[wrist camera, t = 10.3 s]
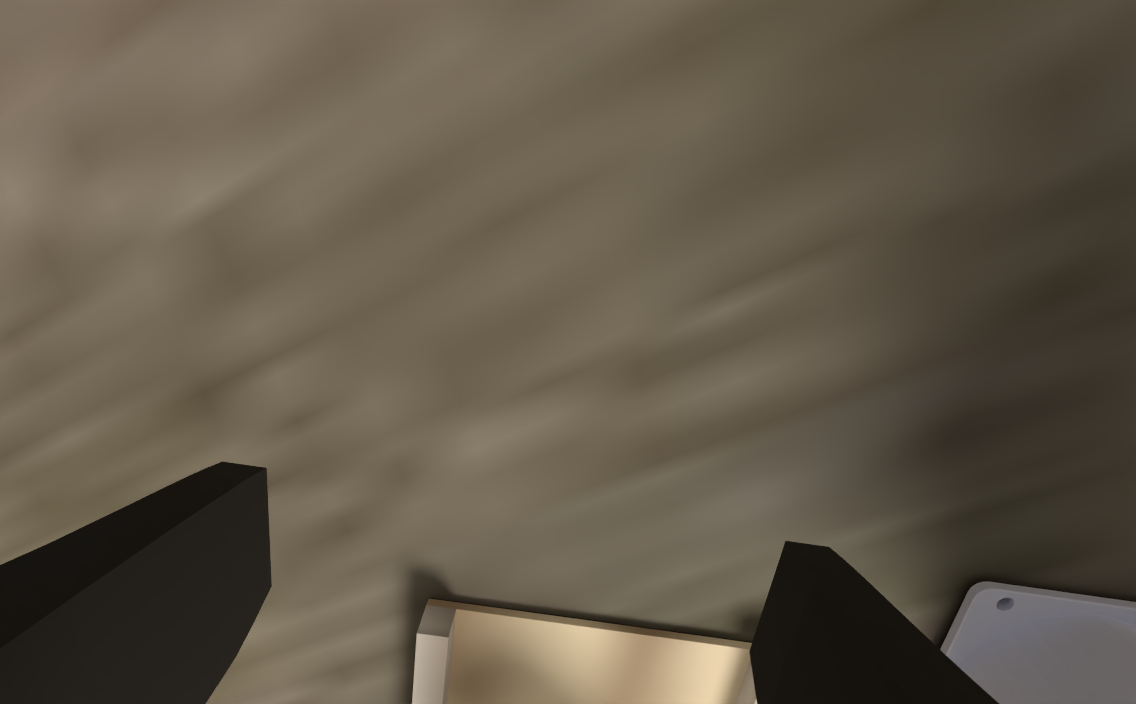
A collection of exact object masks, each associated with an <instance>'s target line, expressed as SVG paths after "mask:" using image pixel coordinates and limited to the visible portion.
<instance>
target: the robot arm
mask: <svg viewBox="0 0 1136 704" xmlns="http://www.w3.org/2000/svg"><path fill="white" fill-rule="evenodd" d="M271 586H272V585H271V561H270V538H269V515H268V492H267V468H263V467H256V466H249V465H242V464H235V463H228V462H220V463H218V464H215V465H213V466H211V467H208V468H206V469H203V470H201V471H199V472H197V473H194V474H192V475H190V476H188V477H186V478H184V479H182V480H179V481H177V482H175V483H173V484H171V485H169V486H167V487H165V488H163V489H161V490H159V491H157V492H155V493H152V494H150V495H148V496H146V497H144V498H142V499H140V500H138V501H136V502H134V503H132V504H130V505H128V506H126V507H124V508H122V509H120V510H118V511H115V512H113V513H111V514H109V515H107V516H105V517H103V518H101V519H99V520H97V521H95V522H93V523H90V524H88V525H86V526H84V527H82V528H80V529H78V530H76V531H74V532H72V533H70V534H68V535H65V536H63V537H61V538H59V539H57V540H55V541H53V542H51V543H49V544H47V545H44V546H42V547H40V548H38V549H35V550H33V551H31V552H29V553H26V554H24V555H22V556H20V557H17V558H15V559H13V560H11V561H8V562H6V563H4V564H2V565H0V704H206V702H207V700H208V699H209V697H210V696H211V694H212V693H213V691H214V690H215V688H216V687H217V685H218V684H219V682H220V681H221V679H222V678H223V676H224V675H225V673H226V671H227V670H228V668H229V667H230V665H231V664H232V662H233V660H234V659H235V657H236V656H237V654H238V652H239V650H240V648H241V646H242V644H243V642H244V640H245V638H246V637H247V635H248V633H249V631H250V629H251V627H252V625H253V623H254V621H255V619H256V617H257V615H258V613H259V611H260V609H261V607H262V605H263V603H264V600H265V598H266V596H267V594H268V592H269V590H270V588H271ZM1003 598H1004V599H1003ZM1001 599H1003V600H1001ZM999 600H1001V601H999ZM749 653H750V660H751V667H752V674H753V680H754V687H755V694H756V699H757V704H1136V602H1131V601H1124V600H1117V599H1110V598H1103V597H1096V596H1088V595H1081V594H1074V593H1067V592H1060V591H1053V590H1046V589H1039V588H1031V587H1024V586H1017V585H1010V584H1003V583H996V582H980V583H977V584H975V585H973V586H972V587H971V588H970V589H969V591H968V592H967V594H966V596H965V599H964V601H963V603H962V605H961V607H960V609H959V611H958V613H957V615H956V617H955V620H954V622H953V624H952V626H951V628H950V630H949V632H948V634H947V636H946V638H945V640H944V643H943V645H942V647H941V649H939V648H938V647H937V646H936V645H934V644H933V643H932V642H931V641H930V640H929V639H928V638H927V637H926V636H925V635H924V634H923V633H922V632H921V631H920V630H918V629H917V628H916V627H915V626H914V625H913V624H912V623H911V622H910V621H909V620H908V619H907V618H906V617H905V616H904V615H903V614H902V613H901V612H899V611H898V610H897V609H896V608H895V607H894V606H893V605H892V604H891V603H890V602H889V601H888V600H887V599H886V598H885V597H884V596H883V595H882V594H881V593H879V592H878V591H877V590H876V589H875V588H874V587H873V586H872V585H871V584H870V583H869V582H868V581H867V580H866V579H865V578H864V577H862V576H861V575H860V574H859V573H858V572H857V571H856V570H855V569H854V568H853V567H852V566H851V565H849V564H848V563H847V562H846V561H845V560H844V559H843V558H842V557H840V556H839V555H838V554H837V553H836V552H834V551H833V550H832V549H831V548H830V547H825V546H818V545H811V544H804V543H797V542H790V541H785V544H784V548H783V551H782V554H781V557H780V560H779V563H778V566H777V569H776V572H775V575H774V578H773V581H772V584H771V587H770V590H769V593H768V596H767V599H766V602H765V605H764V608H763V611H762V614H761V617H760V621H759V624H758V627H757V630H756V633H755V636H754V639H753V642H752V645H751V648H750V651H749Z"/></svg>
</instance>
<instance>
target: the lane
mask: <svg viewBox="0 0 1136 704" xmlns="http://www.w3.org/2000/svg"><path fill="white" fill-rule="evenodd" d="M751 645H752V643H749V642H741V641H734V640H727V639H720V638H712V637H705V636H698V635H691V634H683V633H676V632H669V631H662V630H654V629H647V628H640V627H633V626H625V625H618V624H611V623H603V622H596V621H589V620H582V619H574V618H567V617H560V616H553V615H545V614H538V613H531V612H524V611H516V610H509V609H502V608H495V607H487V606H480V605H473V604H466V603H458V602H451V601H444V600H437V599H429V598H428V601H427V604H426V607H425V610H424V613H423V616H422V619H421V622H420V625H419V628H418V631H417V638H416V653H415V668H414V682H413V697H412V704H757V699H756V694H755V687H754V680H753V674H752V667H751V660H750V653H749V651H750V648H751Z"/></svg>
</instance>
